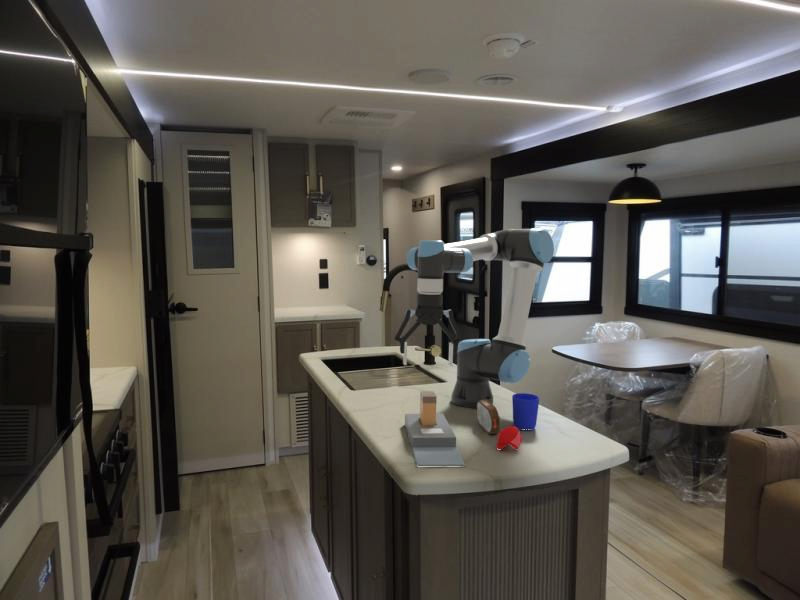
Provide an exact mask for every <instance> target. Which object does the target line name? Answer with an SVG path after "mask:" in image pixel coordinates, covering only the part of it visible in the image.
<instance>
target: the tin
mask: <svg viewBox="0 0 800 600" xmlns="http://www.w3.org/2000/svg"><path fill="white" fill-rule="evenodd" d="M476 417H477V421H478V424H479V425H480V427H481V428H482V429H483V430H484V431H485V432H486V433H487V434H488V435H497V434H498V435H499V431H500V430H501V429H500V428H501V421H500V416H499V412H498V409H497V407H496V406H495V405H494V403H493V404H491V403H490V402H489V401H488V400H487V399H486V400H479V401H478V402H477V408H476Z"/></svg>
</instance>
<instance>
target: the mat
mask: <svg viewBox="0 0 800 600" xmlns="http://www.w3.org/2000/svg"><path fill="white" fill-rule="evenodd" d="M413 453H414V454H413ZM412 454H413V457H414V456H415V457H414V460H415V459H416V460H415V463H416V462H417V464H416V466H417V465H418V466H465V467H466V464H465V462H464V459H463V458H462V456H461V454H460V452H459V450H458V448H457V446H456V447H413V450H412Z"/></svg>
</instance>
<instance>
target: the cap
mask: <svg viewBox="0 0 800 600" xmlns="http://www.w3.org/2000/svg"><path fill="white" fill-rule="evenodd" d="M522 442H523V436H522V433H520V429H518V428H516V427H515V426H514V425H509V426H506V427H504V428H503V429H501V430H499V433H498V435H497V442H496V447H497V448H498V449H501V450H500V451H502V450H503V449H504V448H505V447H506V446H508V445H509V446H510V447H512V449H514V450H515V449H518V450H519V449H520V446H521V444H522ZM507 444H508V445H507ZM496 447H495V448H496ZM497 448H496V449H497Z"/></svg>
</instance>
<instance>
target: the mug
mask: <svg viewBox="0 0 800 600" xmlns="http://www.w3.org/2000/svg"><path fill="white" fill-rule="evenodd" d="M511 397H512V400H511V401H512V402H511V403H512V423H513V426H515V427H516V428H518V429H519V430H520V429H525V430H524V431H529V430H528V429H533V430H534V429H536V427H537V420H538V414H539V413H538V412H539V406H540V405H539V404H540V397H539V396H538V395H537V394H536V395H535V394H532V393H525V392H520V393H515V394H512V396H511ZM526 429H527V430H526Z"/></svg>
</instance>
